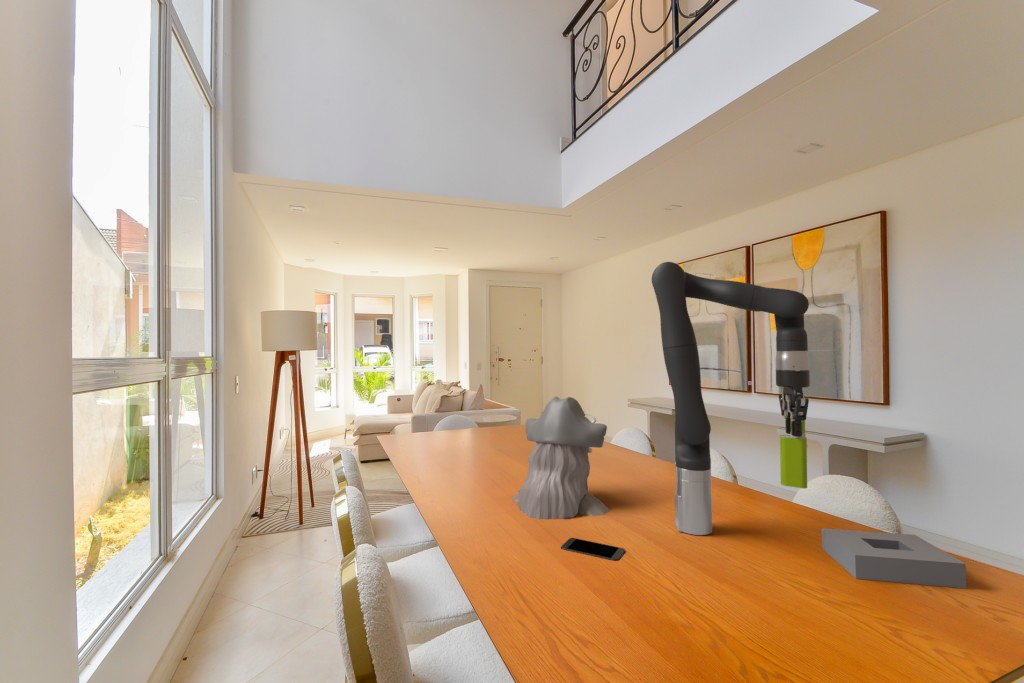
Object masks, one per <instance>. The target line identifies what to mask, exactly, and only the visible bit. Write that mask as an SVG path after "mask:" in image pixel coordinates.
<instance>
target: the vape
mask: <svg viewBox="0 0 1024 683" xmlns="http://www.w3.org/2000/svg"><path fill="white" fill-rule="evenodd" d="M794 409H795V408H794ZM798 415H799V413H798ZM790 418H791V415H790ZM792 422H793V421H792ZM779 438H780V439H779V443H780V444H779V446H780V448H779V450H780V453H779V455H780V457H779V458H780V485H781V486H784V487H789V488H795V489H808V455H807V454H808V443H807V442H808V441H807V437H806V420H803V422H802V436H801V437H795V436H792V435H791V434H780V436H779Z"/></svg>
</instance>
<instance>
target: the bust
mask: <svg viewBox="0 0 1024 683" xmlns="http://www.w3.org/2000/svg"><path fill="white" fill-rule="evenodd" d="M585 411H586V409H583V408H582V406H581V404H580V403H579V401H578V400H577V399H575V398H574V397H572V396H568V397H566V398H562V399H561V398H560V397H559V396H554V397H552V398H551V400H549V402H547V404H546V405H545V407H544V409H543V411H542V412H541V414H540V416H539V418H534V417H533V418H531V417H530V418H527V419H526V420H525V433H526V434H525V436H526V440H527V441H529V442H535V444H534V447H533V449H532V451H531V452H530V454H529V456H528V468H527V469H528V472H527V475H526V478H525V480H524V482H523V484H522V486H520V489H519V492H518V493H517V494H515V495H514V496H512V497H511V500H512V502H517V506H518V510H519V511H520V512H522V513H523V514H525V516H527V517H528V518H530V519H536V520H551V519H552V520H557V519H559V520H565V519H573V518H575V517H577V515H578V514H579V515H584V516H589V517H596V516H597V517H598V516H605V515H606V514H607V513H609V512H610V509H608V507H607V506H606V505H605V504H604V503H603V502H602V500H600V499H599V498H597V497H595V496H594V495H592V493H590V491H589V486H588V478H589V476H590V471H591V465H590V461H589V460H590V459H589V454H591V453H593V449H592V448H599V449H600V448H603V447H604V442H605V436H606V435H607V430H608V426H607V425H606V424H605V423H599V422H598V423H596V422H597V417H595V416H592V414H591V415H590V414H586V413H585ZM586 416H590V417H591V418H593V420H592V421H591V420H590V419H589V418H588V417H586Z"/></svg>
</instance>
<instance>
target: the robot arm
mask: <svg viewBox="0 0 1024 683" xmlns="http://www.w3.org/2000/svg"><path fill="white" fill-rule="evenodd" d="M651 284H652V288H653V291H654V293H655V294H654V295H655V298H656V301H657V302H656V303H657V305H658V310H659V316H660V317H659V318H660V319H659V320H660V335H661V336H660V337H661V344H662V346H661V347H662V353H663V354H662V355H663V358H664V363H665V369H666V372H667V378H668V380H669V384H670V387H671V389H672V394H673V400H674V401H673V402H674V415H675V416H674V417H675V418H674V419H675V420H674V454H675V456H674V458H675V491H674V507H675V508H674V510H675V512H674V513H675V514H674V516H675V518H674V521H675V522H674V523H675V527H676V529H677V531H678V532H680V533H685V534H689V535H696V536H706V535H710V534H712V533H713V517H712V516H713V510H712V509H713V504H712V502H713V501H712V458H711V450H710V449H711V448H710V447H711V445H710V442H711V441H710V435H711V430H712V428H711V423H710V420H709V417H708V413H707V411H706V406H705V403H704V398H703V393H702V383H701V382H702V381H701V380H702V379H701V378H702V377H701V364H700V355H699V350H698V344H697V338H696V334H695V330H694V327H693V324H692V320H691V318H690V316H689V311H688V306H687V298H690V299H697V300H702V301H708V302H710V303H711V302H712V303H716V304H721V305H722V306H723V305H724V306H728V307H731V308H736V309H741V310H745V311H749V312H755V313H756V312H762V313H763V312H764V313H767V314H768V313H769V314H772V315H774V324H775V329H776V330H775V331H776V338H775V342H776V344H775V345H776V346H775V348H776V352H775V353H776V354H775V386H777V387H778V388H779V387H780V388H782V394H778V402H779V407H780V413H781V416H782V417H783V418H784V421H785V433H786V435H792V436H795V437H801V436H802V422H803V420H805V421H806V420H807V415H808V409H809V403H810V402H809V398H807V397H805V395H804V391H803V388H809V387H810V385H811V381H810V357H809V352H808V350H809V349H808V348H809V347H808V346H809V344H808V334H807V331H806V329H805V314H806V313H807V312H808V309H809V306H810V305H809V304H810V302H809V299H808V298H807V296H806V295H805V294H803V293H801V292H799V291H796V290H793V289H792V290H791V289H784V288H776V287H765V286H762V285H756V284H754V283H753V284H752V283H747V282H742V281H735V280H727V279H726V280H725V279H715V278H714V279H713V278H707V277H703V276H698V275H694V274H692V273H688V272H686V271H685V270H684V269H683V267H682V266H680V265H679V264H678V263H675V262H673V261H665V262H664V261H663V262H661V263H660V264H659V265H657V266H656V267H655V269H654V270H653V272H652V275H651ZM794 408H795V409H794ZM798 413H799V415H798ZM790 415H791V418H790ZM792 421H793V422H792Z"/></svg>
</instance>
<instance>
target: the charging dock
mask: <svg viewBox="0 0 1024 683" xmlns="http://www.w3.org/2000/svg"><path fill="white" fill-rule="evenodd" d="M821 547H822V550H823V551H824V552H826V553H827V554H828V556H830V557H831V558H832V559H833V560H834V561H836V562H837V563H838V564H839V565H840V566H841V567H842V568H844V569H845V571H847V572H848V573H849V574H850V575H852V576H851V577H853V578H855V579H856V580H869V581H879V582H888V583H889V582H890V583H901V584H911V585H912V584H914V585H923V586H924V585H925V586H936V587H944V588H945V587H946V588H955V589H958V588H959V589H967V570H966V563H965V562H963V561H962V560H960V559H958V558H957V557H954V556H953V555H951V554H949V553H948V552H946V551H944V550H943V549H940V548H939V547H937V546H935V545H934V544H931V543H930V542H928V541H927V540H925V539H923V538H921V537H919V536H918V535H916V534H909V533H893V532H879V531H868V530H867V531H864V530H854V529H853V530H852V529H851V530H850V529H838V528H836V529H835V528H821Z"/></svg>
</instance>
